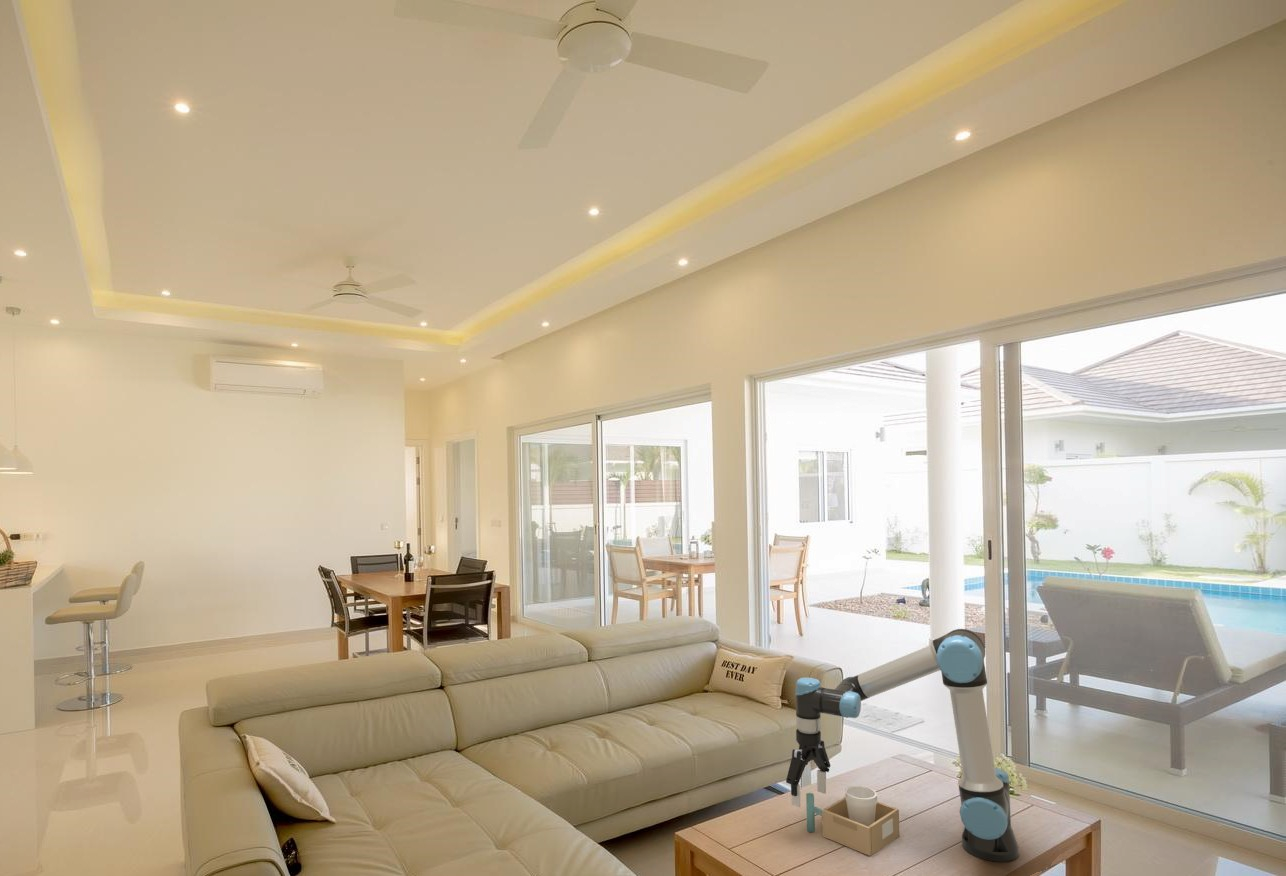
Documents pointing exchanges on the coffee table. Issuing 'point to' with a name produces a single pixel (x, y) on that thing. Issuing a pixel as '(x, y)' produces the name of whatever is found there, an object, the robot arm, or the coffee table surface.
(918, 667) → the robot arm
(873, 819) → the foam cup
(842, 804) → the carton
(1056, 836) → the coffee table surface
